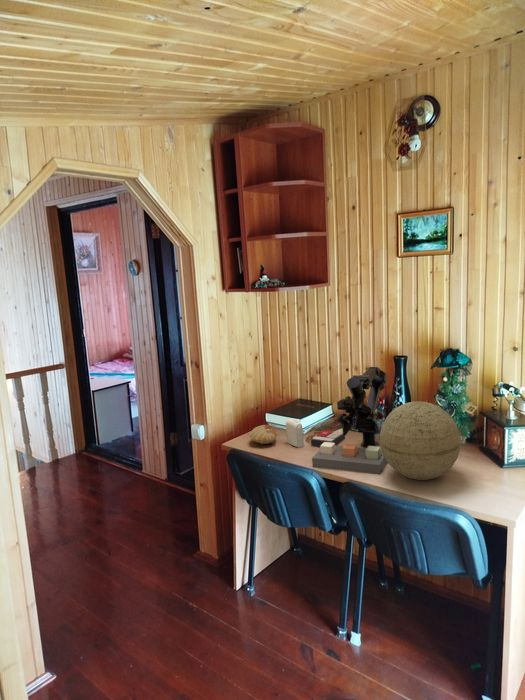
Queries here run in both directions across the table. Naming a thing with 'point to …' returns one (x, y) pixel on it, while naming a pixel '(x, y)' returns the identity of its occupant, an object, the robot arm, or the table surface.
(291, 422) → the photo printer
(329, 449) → the cream button
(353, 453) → the terracotta button
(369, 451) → the sage button
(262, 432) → the seashell
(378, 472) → the button panel
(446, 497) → the table surface
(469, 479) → the table surface
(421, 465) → the brown large sphere
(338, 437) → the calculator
